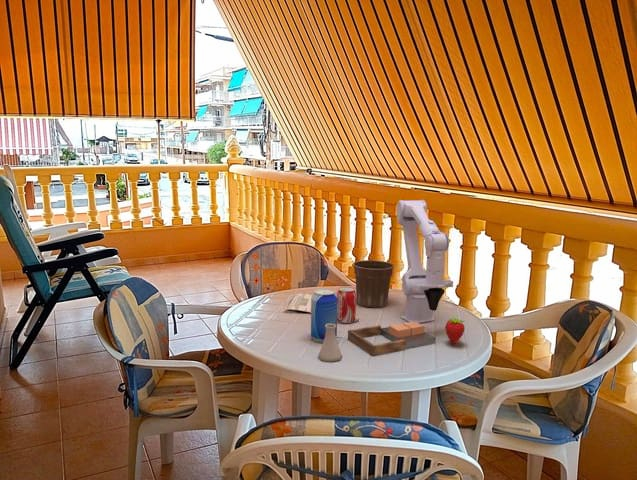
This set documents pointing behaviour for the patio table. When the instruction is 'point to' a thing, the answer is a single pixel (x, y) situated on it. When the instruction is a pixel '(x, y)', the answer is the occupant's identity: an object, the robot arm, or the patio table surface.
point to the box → (358, 339)
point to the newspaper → (298, 303)
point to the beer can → (323, 313)
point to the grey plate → (410, 338)
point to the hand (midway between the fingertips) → (432, 309)
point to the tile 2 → (415, 327)
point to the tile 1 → (399, 330)
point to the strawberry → (454, 329)
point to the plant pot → (372, 282)
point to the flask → (330, 345)
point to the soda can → (346, 305)
